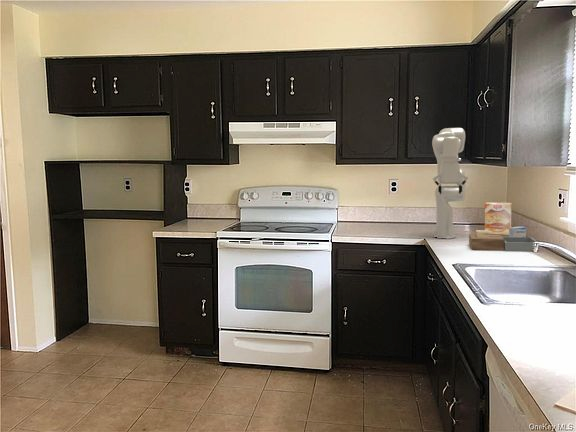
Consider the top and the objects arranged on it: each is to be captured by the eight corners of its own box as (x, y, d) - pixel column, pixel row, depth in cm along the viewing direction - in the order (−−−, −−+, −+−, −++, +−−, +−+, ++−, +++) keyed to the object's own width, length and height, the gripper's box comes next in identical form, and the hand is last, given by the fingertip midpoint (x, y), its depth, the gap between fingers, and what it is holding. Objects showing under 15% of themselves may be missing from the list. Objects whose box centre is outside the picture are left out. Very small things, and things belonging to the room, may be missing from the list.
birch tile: (475, 235, 272) (475, 230, 271) (487, 235, 270) (487, 230, 270) (477, 237, 266) (477, 232, 266) (488, 237, 264) (489, 232, 264)
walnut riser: (469, 244, 278) (469, 234, 277) (499, 245, 274) (499, 234, 273) (471, 250, 263) (472, 239, 262) (504, 250, 258) (504, 239, 258)
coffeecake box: (484, 233, 313) (484, 203, 311) (485, 232, 319) (486, 202, 317) (510, 234, 306) (510, 203, 304) (511, 233, 312) (511, 202, 310)
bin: (499, 244, 275) (499, 236, 274) (531, 245, 271) (531, 237, 270) (505, 251, 257) (505, 242, 257) (538, 251, 253) (539, 242, 253)
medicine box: (514, 243, 278) (514, 228, 277) (508, 242, 283) (509, 227, 282) (526, 242, 280) (526, 227, 279) (520, 241, 285) (520, 226, 284)
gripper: (467, 160, 258) (467, 193, 260) (432, 161, 262) (432, 193, 264) (468, 160, 251) (468, 194, 253) (433, 161, 255) (433, 194, 257)
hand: (450, 193), depth 259 cm, fingers open, 9 cm apart
